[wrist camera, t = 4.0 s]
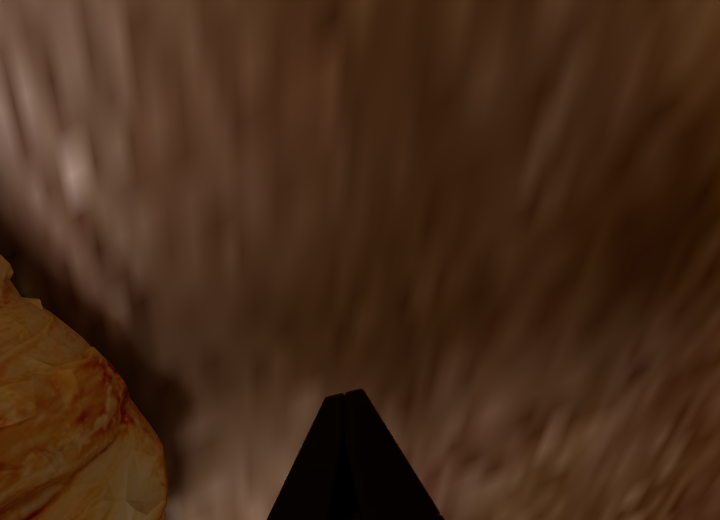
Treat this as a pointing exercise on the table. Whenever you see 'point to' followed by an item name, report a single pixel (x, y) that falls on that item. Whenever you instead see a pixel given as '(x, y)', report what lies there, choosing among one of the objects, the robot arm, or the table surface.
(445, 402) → the table surface
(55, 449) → the croissant
